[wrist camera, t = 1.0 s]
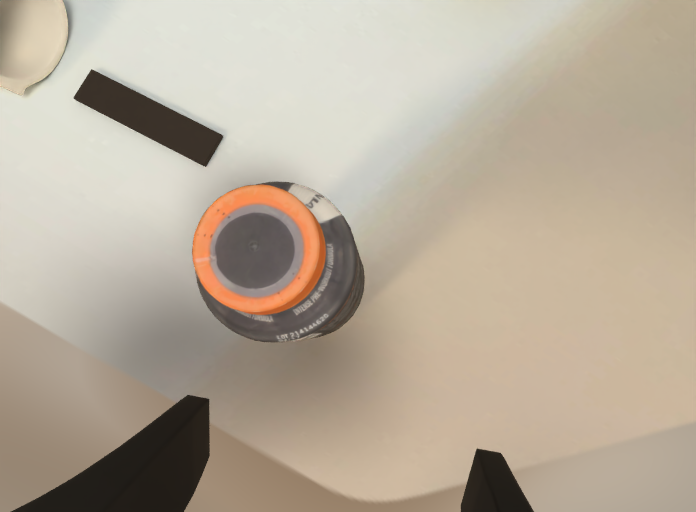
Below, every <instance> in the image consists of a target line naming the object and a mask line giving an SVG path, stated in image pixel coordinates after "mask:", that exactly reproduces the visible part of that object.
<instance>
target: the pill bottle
mask: <svg viewBox="0 0 696 512" xmlns="http://www.w3.org/2000/svg"><path fill="white" fill-rule="evenodd" d="M192 255H193V263H194V267H195V272H196V278H197V283H198V286H199V290H200V293H201V295H202V297H203V300H204V301H205V303H206V305H207V306H208V308H209V309H210V311H211V312H212V313H213V314H214V316H215V317H216V318H217V319H218V320H219V321H220V322H221V323H222V324H224V325H225V326H226V327H228V328H229V329H230V330H232V331H234V332H235V333H237V334H239V335H241V336H244V337H246V338H249V339H253V340H255V341H262V342H287V341H301V340H305V339H310V338H316V337H321V336H324V335H327V334H329V333H332V332H334V331H336V330H337V329H339V328H340V327H341V326H343V325H344V324H345V323H346V322H347V321H348V320H349V319H350V318H351V317H352V316H353V314H354V313H355V311H356V309H357V308H358V306H359V304H360V301H361V299H362V295H363V291H364V269H363V265H362V262H361V259H360V256H359V253H358V250H357V246H356V244H355V241H354V237H353V234H352V232H351V228H350V227H349V225H348V223H347V221H346V220H345V218H344V216H343V215H342V214H341V213H340V211H339V210H338V209H337V208H336V207H335V206H334V205H333V204H332V203H331V202H330V201H329V200H328V199H326V198H325V197H324V196H322V195H321V194H319V193H317V192H316V191H314V190H312V189H310V188H307V187H305V186H301V185H297V184H295V183H289V182H268V183H262V184H257V185H248V186H243V187H240V188H237V189H234V190H232V191H230V192H228V193H226V194H225V195H223V196H221V197H220V198H218V199H217V200H216V201H215V202H214V203H213V204H212V205H211V206H210V207H209V208H208V209H207V211H206V212H205V213H204V215H203V216H202V218H201V220H200V222H199V224H198V226H197V229H196V231H195V234H194V240H193V249H192Z"/></svg>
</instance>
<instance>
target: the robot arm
mask: <svg viewBox="0 0 696 512" xmlns="http://www.w3.org/2000/svg"><path fill="white" fill-rule="evenodd" d="M208 458H209V399H207V398H201V397H196V396H190V395H187V396H186V397H184V398H183V399H181V400H180V401H179V402H178V403H176V404H175V405H174V406H172V407H171V408H170V409H169V410H167V411H166V412H165V413H163V414H162V415H161V416H160V417H158V418H157V419H156V420H154V421H153V422H152V423H151V424H149V425H148V426H147V427H145V428H144V429H143V430H141V431H140V432H139V433H137V434H136V435H135V436H133V437H132V438H131V439H129V440H128V441H127V442H125V443H124V444H123V445H121V446H120V447H118V448H117V449H115V450H114V451H112V452H111V453H109V454H108V455H107V456H105V457H104V458H102V459H101V460H99V461H98V462H96V463H95V464H93V465H92V466H90V467H89V468H87V469H86V470H84V471H83V472H81V473H80V474H78V475H76V476H75V477H73V478H72V479H70V480H68V481H67V482H65V483H63V484H62V485H60V486H58V487H56V488H55V489H53V490H51V491H50V492H48V493H46V494H44V495H42V496H41V497H39V498H37V499H35V500H33V501H31V502H29V503H27V504H25V505H24V506H21V507H19V508H17V509H16V510H13V511H12V512H184V510H185V509H186V506H187V505H188V503H189V501H190V499H191V498H192V496H193V494H194V492H195V489H196V487H197V485H198V483H199V480H200V478H201V476H202V473H203V471H204V468H205V466H206V463H207V461H208ZM461 512H534V511H533V509H532V508H531V506H530V504H529V502H528V501H527V499H526V497H525V495H524V494H523V492H522V490H521V488H520V487H519V485H518V483H517V481H516V479H515V477H514V476H513V474H512V472H511V470H510V468H509V466H508V464H507V462H506V460H505V459H504V457H503V456H502V454H501V453H498V452H493V451H487V450H482V449H476V453H475V457H474V460H473V464H472V467H471V471H470V474H469V478H468V482H467V485H466V489H465V492H464V496H463V500H462V503H461Z"/></svg>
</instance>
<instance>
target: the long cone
mask: <svg viewBox="0 0 696 512" xmlns="http://www.w3.org/2000/svg"><path fill="white" fill-rule="evenodd" d="M67 37H68V18H67V13H66V9H65V5H64V2H63V0H0V87H3V88H5V89H7V90H9V91H12V92H14V93H16V94H19V95H23V93H24V91H25V89H26V88H27V87H28V86H30V85H33V84H35V83H37V82H39V81H41V80H42V79H44V78H45V77H46V76H48V75H49V74H50V73H51V72H52V71H53V70H54V68H55V67H56V66H57V64H58V63H59V61H60V59H61V57H62V55H63V53H64V50H65V47H66V43H67Z"/></svg>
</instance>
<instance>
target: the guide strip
mask: <svg viewBox="0 0 696 512" xmlns="http://www.w3.org/2000/svg"><path fill="white" fill-rule="evenodd" d="M74 99H75V100H77V101H79V102H81V103H83V104H85V105H87V106H88V107H90V108H92V109H94V110H96V111H98V112H100V113H102V114H104V115H106V116H108V117H110V118H112V119H114V120H116V121H118V122H119V123H121V124H123V125H125V126H127V127H129V128H131V129H133V130H135V131H137V132H139V133H141V134H143V135H145V136H147V137H149V138H150V139H152V140H154V141H156V142H158V143H160V144H162V145H164V146H166V147H168V148H170V149H172V150H174V151H176V152H178V153H180V154H182V155H183V156H185V157H187V158H189V159H191V160H193V161H195V162H197V163H199V164H201V165H203V166H205V167H206V166H207V164H208V162H209V160H210V159H211V157H212V155H213V154H214V152H215V150H216V149H217V147H218V145H219V143H220V142H221V140H222V138H223V136H222V135H221V134H219V133H217V132H215V131H213V130H211V129H209V128H207V127H205V126H203V125H201V124H199V123H197V122H195V121H193V120H191V119H189V118H187V117H185V116H183V115H181V114H179V113H177V112H175V111H173V110H171V109H169V108H167V107H165V106H163V105H161V104H159V103H157V102H155V101H153V100H151V99H149V98H147V97H146V96H144V95H142V94H140V93H138V92H136V91H134V90H132V89H130V88H128V87H126V86H124V85H122V84H120V83H118V82H116V81H114V80H112V79H110V78H108V77H106V76H104V75H102V74H100V73H98V72H96V71H94V70H91V71H90V73H89V74H88V76H87V77H86V79H85V80H84V82H83V84H82V85H81V87H80V88H79V90H78V91H77V93H76V95H75V96H74Z"/></svg>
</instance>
